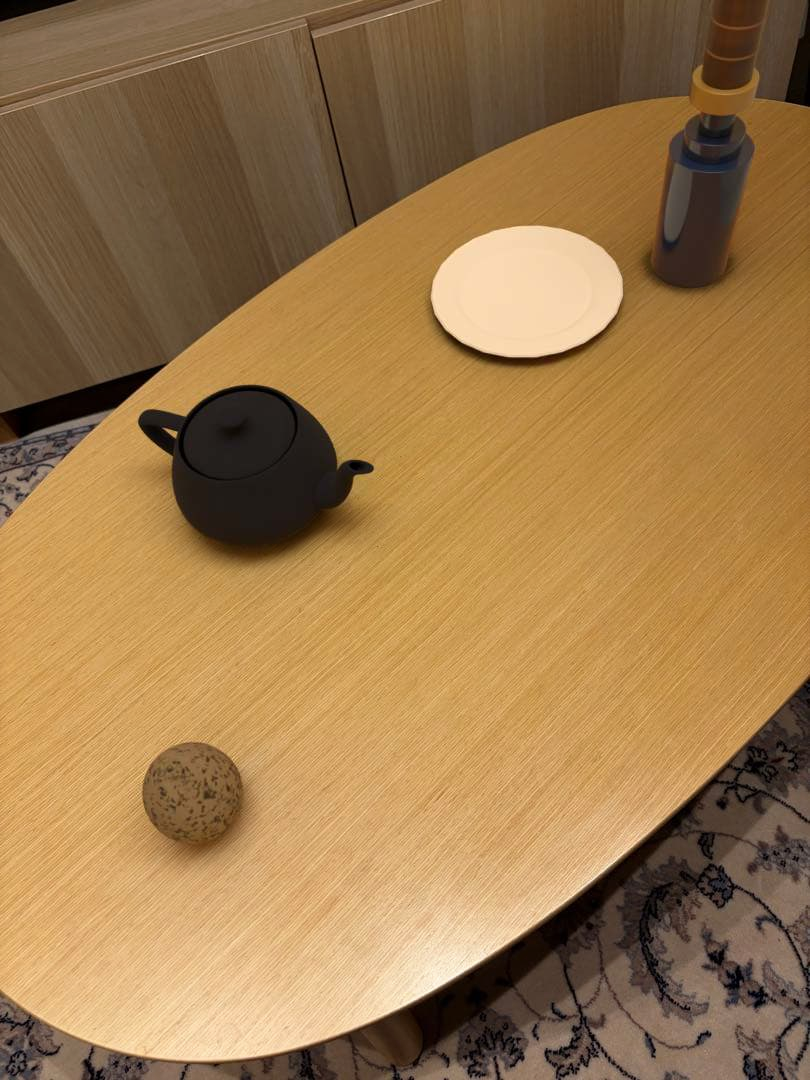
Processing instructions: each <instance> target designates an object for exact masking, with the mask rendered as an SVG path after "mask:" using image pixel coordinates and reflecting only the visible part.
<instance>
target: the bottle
mask: <svg viewBox="0 0 810 1080" xmlns="http://www.w3.org/2000/svg"><path fill="white" fill-rule="evenodd" d="M702 67H703V63H702V64H701V65H699V66H698V67H696V68H695V70H694V71H693V73H692V77H691V83H690V89H689V94H688V99H689V102H690V104H691V106H692V107H693V108H695V109H696V110H697V111H700V113H698V114H696V115H694V116H691V118H689V119H688V121H686V123H685V125H684V128H683V129H681V130H680V131H678V132H677V133H675V135H674V136H672V138H671V139H670V141H669V144H668V150H667V155H666V156H667V157H666V162H665V169H664V176H663V181H662V188H661V193H660V200H659V202H660V203H659V208H658V213H657V219H656V227H655V233H654V237H653V238H654V239H653V245H652V252H651V258H650V265H651V269H652V271H653V273H654V274H655V275H656V276H657V277H658V278H659V279H660V280H662V281H663V282H665V283H667V284H669V285H672V286H675V287H678V288H689V289H691V288H699V287H704V286H708V285H710V284H713V283H714V282H716V281H717V280H718V279H720V277H722V275H723V274H724V273H725V271H726V267H727V264H728V260H729V255H730V252H731V247H732V244H733V240H734V236H735V233H736V232H735V230H736V227H737V224H738V219H739V216H740V211H741V209H742V208H741V207H742V203H743V199H744V196H745V195H744V194H745V191H746V187H747V184H748V183H747V182H748V179H749V175H750V171H751V167H752V163H753V159H754V155H755V152H756V151H755V150H756V146H755V143H754V141H753V139H752V138H751V136H750V135H749V134H747V125H746V123H745V122H744V121H743V119H741V118H740V117H738V115H737V114H740V113H742V112H745V111H747V110H748V109H749V108H750V107H751V106H752V105H753V104H754V102H755V100H756V94H757V91H758V86H759V82H760V73H759V71H758V69H757V68H756V67H755V66H754V70H753V75H752V78H751V80H750V82H749V83H748V84H746V85H745V86H743V87H740V88H737V89H730V90H722V89H716V88H713V87H710V86H708V85H707V84H705V83H704V82H703V80H702V78H701V73H702Z"/></svg>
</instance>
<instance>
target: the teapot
mask: <svg viewBox="0 0 810 1080" xmlns="http://www.w3.org/2000/svg"><path fill="white" fill-rule="evenodd" d="M137 424H138V427H139V429H140V430H141V432H142V433H143V434H144V435H145V436H146V437H147V438H148V439H149V440H150V441H151V442H152V443H153V444H154V445H156V446H157V447H159V448H160V449H161V450H162V451H164V452H165V453H167V454H168V455H170V456H171V457H172V461H171V484H172V490H173V495H174V498H175V502H176V504H177V506H178V508H179V510H180V512H181V514H182V516H183V517H184V518H185V520H186V521H187V522H188V524H189V525H190V526H191V527H192V528H193V529H195V530H196V532H199V533H200V534H201V535H203V536H204V537H206V538H208V539H210V540H212V541H214V542H217V543H220V544H223V545H227V546H233V547H240V548H241V547H242V548H253V547H263V546H267V545H271V544H272V545H273V544H276V543H279V542H281V541H283V540H286V539H288V538H290V537H293V536H294V535H295V534H298V533H299V532H301V531H302V530H304V529H305V528H307V526H309V525H310V524H311V523H312V522H313V521H314V520H315V519H316V518H317V517H319V515H320V514H321V512H322V511H325V510H326V511H327V510H332V509H335V508H337V507H339V506H341V505H342V504H343V503H344V502H345V501H346V500H347V499H348V496H349V495H350V493H351V491H352V489H353V485H354V477H356V476H359V475H368V474H371V473H373V472H374V471H375V467H374V465H373V464H371V463H370V462H368V461H366V460H362V459H348V460H345V461H343V462H342V463H341V464H340V465H339V466H338V457H337V452H336V448H335V446H334V444H333V441H332V439H331V437H330V435H329V433H328V432H327V430H326V429H325V427H324V426H323V424H321V422H320V421H319V420H318V419H317V418H316V417H315V416H314V415H313V414H312V413H311V412H310V411H309V410H308V409H307V408H305V407H304V405H301V404H300V403H299V402H298V401H297V400H295V399H293V398H292V397H291V396H289V395H288V394H286V393H284V392H283V391H281V390H279V389H277V388H274V387H270V386H267V385H261V384H240V385H233V386H230V387H226V388H223V389H220V390H218V391H215V392H214V393H212V394H210V395H208V396H207V397H204V398H203V399H202V400H201V401H199V402H198V403H197V404H196V405H194V407H192V408H191V409H190V411H189V412H188V413H187V414H186V415H182V414H178V413H174V412H170V411H167V410H162V409H157V408H156V409H155V408H149V409H146V410H144V411H142V412H141V413H140V414H139V416H138V418H137ZM167 430H169V431H173V432H177V433H176V435H175V437H174V436H173V435H172V434H171V433H169V432H168V431H167Z"/></svg>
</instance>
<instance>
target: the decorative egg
mask: <svg viewBox="0 0 810 1080" xmlns="http://www.w3.org/2000/svg"><path fill="white" fill-rule="evenodd" d="M243 784H244V783H243V778H242V776H241V773H240V771H239V769H238V767H237V765H236V763H234V761H233V760H232V758H230V756H229V755H228V754H226V752H224V751H222V750H221V749H220V748H218V747H215V746H213V745H211V744H208V743H206V742H205V743H204V742H197V741H195V742H194V741H190V742H189V741H188V742H183V743H179V744H174V745H172V746H170V747H168V748H166V749H164V750H163V751H162V752H161V753H160V754H158V755H157V756H156V757H155V758H154V760H152V761H151V763H150V765H149V767H148V768H147V770H146V772H145V775H144V778H143V782H142V789H141V796H142V804H143V808H144V812H145V813H146V815H147V817H148V819H149V821H150V822H151V824H152V825H153V826H154V828H155V829H156V830H157V831H158V832H159V833H161V834H162V835H164V836H165V837H167V838H168V839H169V840H170V839H171V840H173V841H174V842H177V843H181V844H189V845H191V844H193V845H194V844H195V845H197V844H203V843H207V842H209V841H212V840H215V839H217V838H218V837H219V836H221V835H222V834H224V833H225V832H226V831H228V830H229V828H230V827H231V826H232V825H233V824H234V822H235V821H236V819H237V817H238V816H239V813H240V811H241V809H242V804H243V801H244V785H243Z"/></svg>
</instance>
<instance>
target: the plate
mask: <svg viewBox="0 0 810 1080" xmlns="http://www.w3.org/2000/svg"><path fill="white" fill-rule="evenodd" d="M623 283H624V281H623V276H622V274H621V271H620V269H619V267H618V264H617V262H616V261H615V260H614V259H613V258H612V256H610V254H609V253H608V252H607V251H606V250H605V248H603V247H602V246H600V245H599V244H597V243H596V242H594V241H592V240H591V239H590V238H588V237H586V236H585V235H584V236H583V235H582V234H578V233H575V232H573V231H570V230H567V229H565V228H558V227H552V226H545V225H517V226H511V227H505V228H500V229H495V230H492V231H490V232H487V233H484V234H482V235H479V236H477V237H473V238H472V239H471V240H469V241H467V242H466V243H463V245H461V246H460V247H458V248H456V249H455V250H454V251H453V252H452V253H451V254H450V255H449V256H448V257H447V258H446V259H445V260H444V261H443V262H442V263H441V264H440V266H439V268H438V270H437V272H436V274H435V276H434V278H433V280H432V286H431V292H430V300H431V304H432V309H433V313H434V316H435V318H436V319H437V320H438V323H440V325H441V327H442V328H443V330H444V331H445V332H446V333H448V334H449V335H450V336H451V337H453V338H454V339H455V340H456V341H458V342H459V343H460V344H462V345H464V346H467V348H468V347H469V348H470V349H473V350H475V351H478V352H480V353H482V354H486V355H490V356H495V357H500V358H505V359H538V358H544V357H548V356H550V357H551V356H554V355H560V354H564V353H565V352H568V351H571V350H573V349H575V348H578V347H580V346H583V345H585V344H587V343H588V342H589V341H591V340H592V339H593V338H595V337H597V336H598V335H599V334H600V333H603V331H605V329H606V328H607V327H608V325H609V324H610V323H611V322H612V321H613V319H614V318H615V317H616V316H617V314H618V311H619V309H620V306H621V303H622V301H623V298H624V285H623Z"/></svg>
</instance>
